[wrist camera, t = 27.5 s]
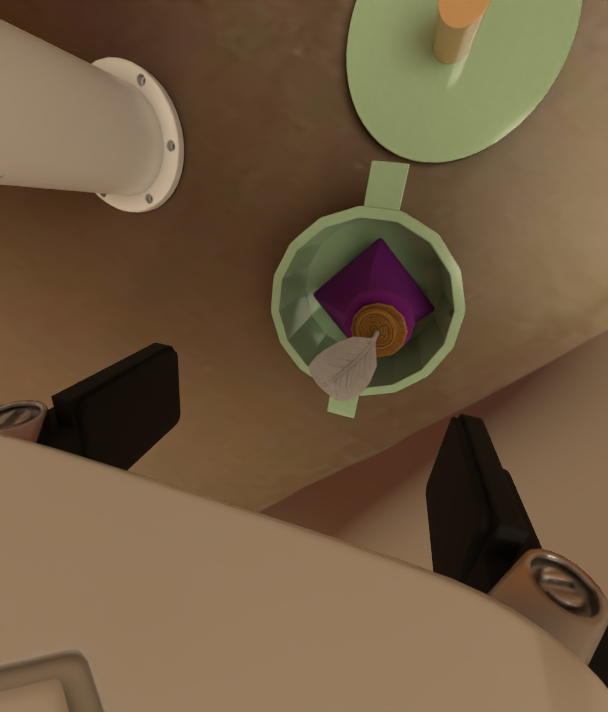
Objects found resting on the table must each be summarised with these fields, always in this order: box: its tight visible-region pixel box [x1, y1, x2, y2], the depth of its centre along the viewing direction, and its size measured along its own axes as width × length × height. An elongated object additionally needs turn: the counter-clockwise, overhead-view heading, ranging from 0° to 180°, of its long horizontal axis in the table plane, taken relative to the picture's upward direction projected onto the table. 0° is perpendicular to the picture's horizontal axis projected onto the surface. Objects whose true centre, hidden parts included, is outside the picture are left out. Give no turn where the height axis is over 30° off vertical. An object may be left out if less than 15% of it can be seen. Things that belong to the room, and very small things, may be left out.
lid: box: [346, 0, 583, 164], centre depth 21 cm, size 15×15×6 cm
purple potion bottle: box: [309, 238, 435, 401], centre depth 23 cm, size 8×8×18 cm
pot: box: [271, 160, 466, 418], centre depth 28 cm, size 14×19×8 cm
